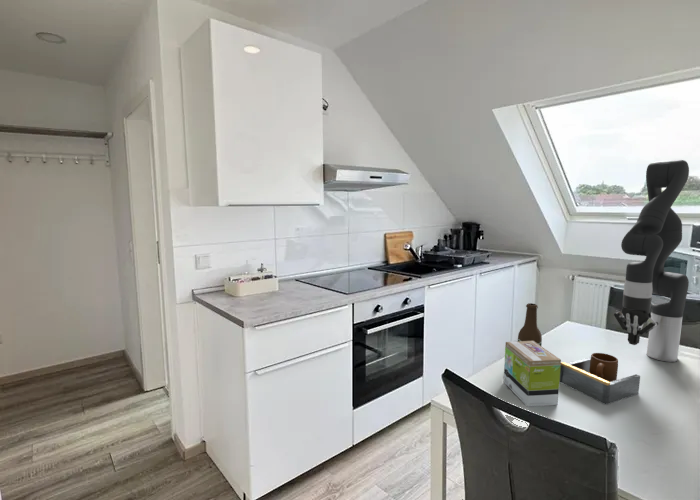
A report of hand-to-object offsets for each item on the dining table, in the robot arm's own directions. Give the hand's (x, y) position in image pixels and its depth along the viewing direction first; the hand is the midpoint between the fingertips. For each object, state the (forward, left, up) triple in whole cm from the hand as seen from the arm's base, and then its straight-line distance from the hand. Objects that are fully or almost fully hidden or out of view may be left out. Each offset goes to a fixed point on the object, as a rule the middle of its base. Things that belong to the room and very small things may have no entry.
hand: (633, 343), depth 128 cm
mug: (+15, 0, -13) cm, 19 cm away
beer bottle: (+26, -19, -13) cm, 34 cm away
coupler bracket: (+16, 0, -12) cm, 20 cm away
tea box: (+40, -6, -13) cm, 42 cm away
